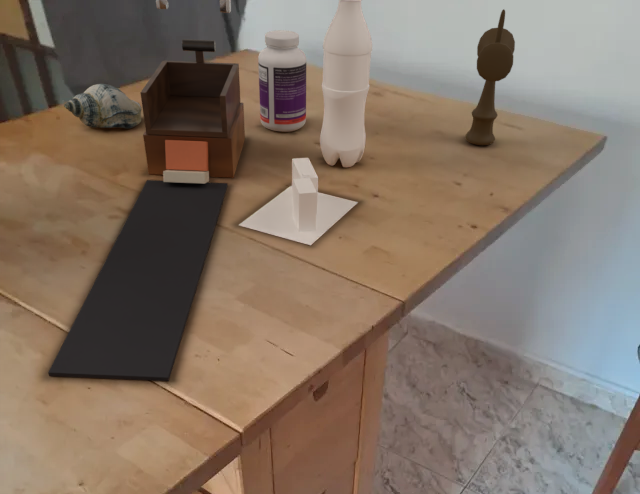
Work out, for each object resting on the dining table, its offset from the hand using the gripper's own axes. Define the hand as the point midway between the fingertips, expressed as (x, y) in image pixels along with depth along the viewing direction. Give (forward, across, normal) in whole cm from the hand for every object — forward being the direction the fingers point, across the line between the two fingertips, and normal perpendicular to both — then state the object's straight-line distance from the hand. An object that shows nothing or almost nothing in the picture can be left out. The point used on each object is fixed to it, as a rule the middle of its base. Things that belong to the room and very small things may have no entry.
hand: (194, 10), depth 103 cm
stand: (+19, 0, -8) cm, 20 cm away
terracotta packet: (+15, 0, -16) cm, 22 cm away
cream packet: (+17, 0, -18) cm, 25 cm away
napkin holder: (+19, +18, -27) cm, 37 cm away
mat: (+19, 0, -42) cm, 46 cm away
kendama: (+18, +47, +3) cm, 51 cm away
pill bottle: (+19, +13, +7) cm, 24 cm away
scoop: (+13, 0, -7) cm, 15 cm away
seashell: (+19, -17, +4) cm, 26 cm away
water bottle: (+19, +23, -8) cm, 31 cm away
